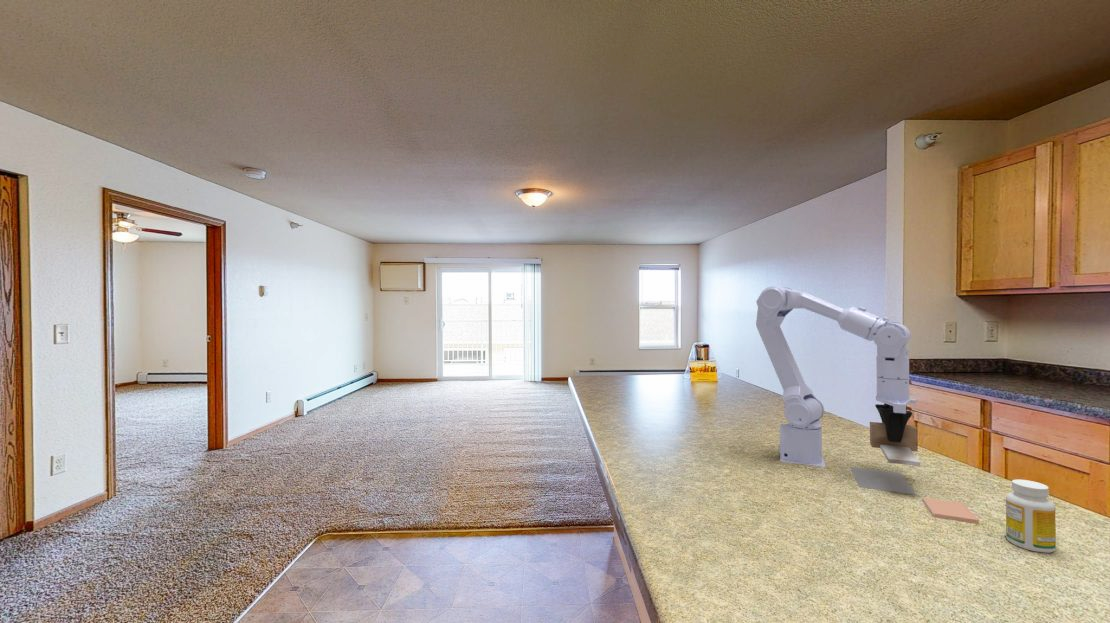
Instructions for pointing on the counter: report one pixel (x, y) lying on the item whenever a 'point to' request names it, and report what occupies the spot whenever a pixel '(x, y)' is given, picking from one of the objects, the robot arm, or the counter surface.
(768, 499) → the counter surface
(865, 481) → the tool rest
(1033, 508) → the supplement bottle
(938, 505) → the tile
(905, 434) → the brown grey l-shaped piece
